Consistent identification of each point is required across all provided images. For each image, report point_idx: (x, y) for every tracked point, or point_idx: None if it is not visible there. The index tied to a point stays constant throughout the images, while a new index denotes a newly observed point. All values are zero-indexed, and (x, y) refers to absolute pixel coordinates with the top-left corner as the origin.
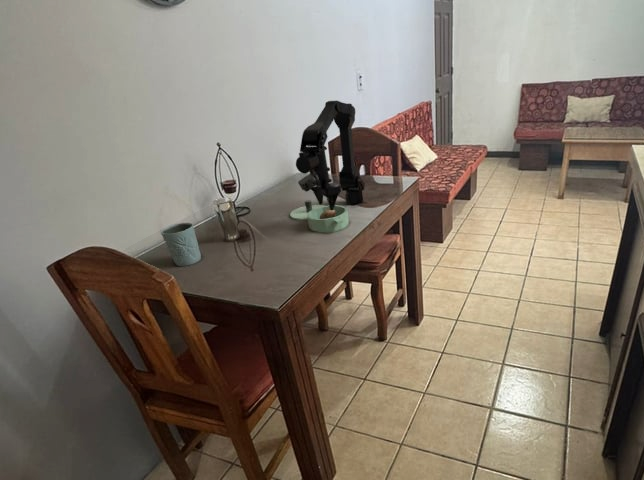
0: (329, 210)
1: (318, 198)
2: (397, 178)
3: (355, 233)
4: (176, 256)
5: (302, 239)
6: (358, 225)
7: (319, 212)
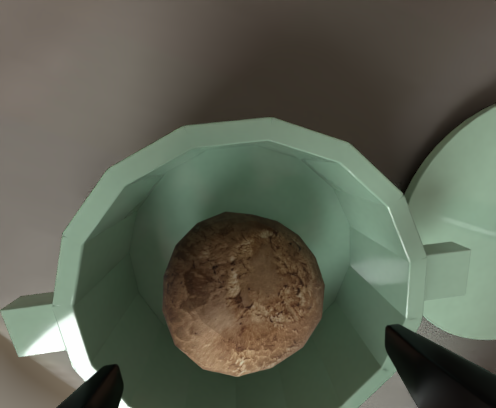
0: (219, 345)
1: (463, 402)
2: None
3: None
4: None
5: (112, 18)
6: None
7: (381, 266)
